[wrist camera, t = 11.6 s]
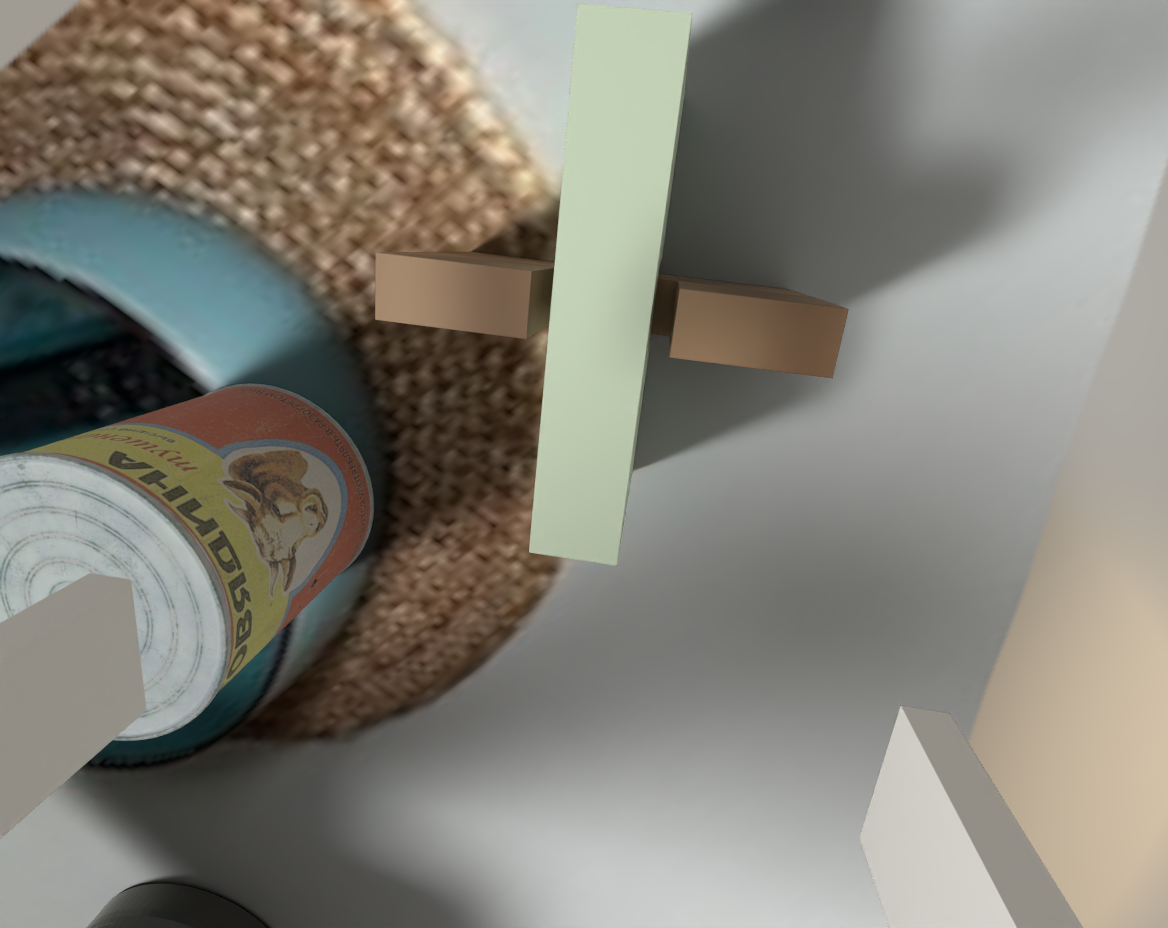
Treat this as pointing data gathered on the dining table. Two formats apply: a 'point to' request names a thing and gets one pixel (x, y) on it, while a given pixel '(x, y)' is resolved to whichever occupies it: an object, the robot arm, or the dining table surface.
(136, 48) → the dining table surface
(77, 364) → the dining table surface
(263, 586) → the canned food
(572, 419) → the green arch bridge
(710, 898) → the dining table surface
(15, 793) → the robot arm
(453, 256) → the brown u-shaped block
